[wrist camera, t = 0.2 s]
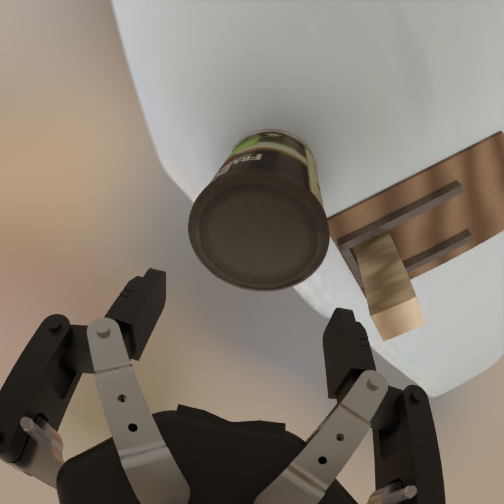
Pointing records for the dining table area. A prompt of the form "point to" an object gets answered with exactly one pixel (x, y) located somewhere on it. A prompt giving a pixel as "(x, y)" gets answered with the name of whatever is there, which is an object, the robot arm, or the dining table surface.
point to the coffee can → (262, 215)
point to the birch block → (387, 287)
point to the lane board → (431, 211)
